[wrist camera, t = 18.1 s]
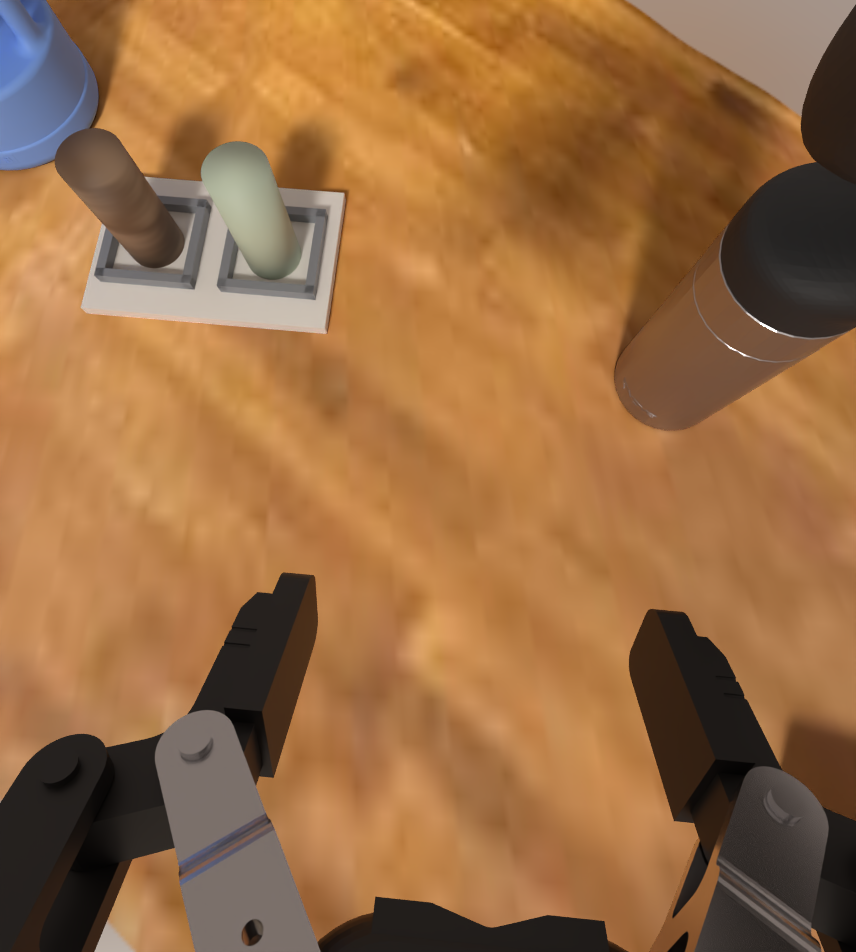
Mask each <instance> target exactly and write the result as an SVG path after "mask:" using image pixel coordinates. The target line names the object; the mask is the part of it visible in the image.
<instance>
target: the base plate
mask: <svg viewBox="0 0 856 952" xmlns="http://www.w3.org/2000/svg"><path fill="white" fill-rule="evenodd" d="M145 178H146V180H147V181H148V183H149V184H150V186H151V187H152V189H153V190H154V192H155V193H156V194H157V196H158V197H159V199H160V200H161V202H162V203H163V205H164V206H165V208H166V209H167V211H168V212H169V213H170V215H171V216H172V218H173V219H174V221H175V222H176V224H177V225H178V227H179V228H180V230H181V231H182V233H183V235H184V240H185V244H184V249H183V251H182V253H181V255H180V256H179V257H178V258H177V260H175V261H174V262H173V263H171V264H170V265H168V266H165V267H161V268H148V267H144V266H142V265H140V264H139V263H137V262H136V261H135V260H134V259H133V257H132V256H131V255H130V254H129V253H128V252H127V251H126V250H125V248H124V247H123V246H122V245H121V244H120V243H119V242H118V240H117V239H116V238H115V237H114V236H113V235H112V234H111V233H110V231H109V230H108V229H107V228H106V227H105V226H104V225H103V224H102V226H101V230H100V234H99V238H98V242H97V246H96V250H95V253H94V257H93V261H92V265H91V269H90V273H89V277H88V281H87V285H86V289H85V293H84V297H83V301H82V305H81V308H82V309H83V310H84V311H85V312H87V313H89V314H100V315H112V316H124V317H135V318H147V319H159V320H170V321H182V322H194V323H206V324H217V325H229V326H241V327H252V328H264V329H276V330H287V331H299V332H311V333H322V334H327V329H328V322H329V315H330V308H331V301H332V294H333V287H334V280H335V273H336V266H337V259H338V252H339V245H340V238H341V231H342V224H343V217H344V210H345V203H346V199H345V194H344V193H338V192H326V191H314V190H301V189H289V188H279V191H280V194H281V197H282V199H283V202H284V205H285V207H286V210H287V213H288V216H289V218H290V221H291V224H292V226H293V229H294V232H295V235H296V237H297V240H298V243H299V245H300V248H301V260H300V263H299V265H298V267H297V268H296V269H295V270H294V271H293V272H292V273H291V274H290V275H288V276H286V277H284V278H281V279H276V280H269V279H264V278H261V277H259V276H257V275H256V274H254V273H253V272H252V270H251V269H250V267H249V266H248V264H247V262H246V260H245V258H244V257H243V255H242V253H241V251H240V249H239V247H238V246H237V244H236V242H235V240H234V238H233V237H232V235H231V233H230V231H229V229H228V227H227V226H226V224H225V222H224V220H223V218H222V216H221V215H220V213H219V211H218V209H217V207H216V206H215V204H214V202H213V200H212V198H211V196H210V195H209V193H208V191H207V189H206V187H205V186H204V184H203V181H191V180H178V179H166V178H154V177H145Z"/></svg>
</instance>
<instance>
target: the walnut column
mask: <svg viewBox="0 0 856 952" xmlns="http://www.w3.org/2000/svg"><path fill="white" fill-rule="evenodd" d="M55 167H56V170H57V172H58V173H59V175H60V176H61V177H62V178H63V180H64V181H65V182H66V183H67V184H68V185H69V186H70V187H71V189H72V190H73V191H74V192H75V193H76V194H77V195H78V196H79V198H80V199H81V200H82V201H83V202H84V203H85V204H86V205H87V207H88V208H89V209H90V210H91V211H92V212H93V213H94V215H95V216H96V217H97V218H98V219H99V220H100V221H101V222H102V224H103V225H104V226H105V227H106V228H107V229H108V230H109V231H110V233H111V234H112V235H113V236H114V237H115V238H116V239H117V240H118V242H119V243H120V244H121V245H122V246H123V247H124V248H125V250H126V251H127V252H128V253H129V254H130V255H131V256H132V257H133V259H134V260H135V261H136V262H137V263H139V264H140V265H142V266H144V267H148V268H161V267H165V266H168V265H170V264H171V263H173V262H174V261H175V260H177V258H178V257H179V256H180V255H181V253H182V251H183V249H184V244H185V240H184V235H183V233H182V231H181V230H180V228H179V227H178V225H177V224H176V222H175V221H174V219H173V218H172V216H171V215H170V213H169V212H168V211H167V209H166V208H165V206H164V205H163V203H162V202H161V200H160V199H159V197H158V196H157V194H156V193H155V192H154V190H153V189H152V187H151V186H150V184H149V183H148V181H147V180H146V178H145V177H144V175H143V174H142V172H141V171H140V170H139V168H138V167H137V165H136V164H135V162H134V161H133V159H132V158H131V156H130V155H129V153H128V152H127V151H126V149H125V148H124V146H123V145H122V143H121V142H120V140H119V139H118V138H117V137H116V136H115V135H114V134H112V133H111V132H109V131H107V130H104V129H98V128H89V129H83V130H80V131H77V132H75V133H73V134H71V135H70V136H68V137H67V138H66V139H65V140H64V141H63V142H62V143H61V144H60V146H59V147H58V149H57V152H56V155H55Z"/></svg>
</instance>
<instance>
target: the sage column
mask: <svg viewBox="0 0 856 952" xmlns="http://www.w3.org/2000/svg"><path fill="white" fill-rule="evenodd" d="M201 178H202V181H203V184H204V186H205V187H206V189H207V191H208V193H209V195H210V196H211V198H212V200H213V202H214V204H215V206H216V207H217V209H218V211H219V213H220V215H221V216H222V218H223V220H224V222H225V224H226V226H227V227H228V229H229V231H230V233H231V235H232V237H233V238H234V240H235V242H236V244H237V246H238V247H239V249H240V251H241V253H242V255H243V257H244V258H245V260H246V262H247V264H248V266H249V267H250V269H251V270H252V272H253V273H254V274H256V275H257V276H259V277H261V278H264V279H269V280H276V279H281V278H284V277H286V276H288V275H290V274H291V273H292V272H293V271H294V270H295V269H296V268H297V267H298V265H299V263H300V260H301V248H300V245H299V243H298V240H297V237H296V235H295V232H294V229H293V226H292V224H291V221H290V218H289V216H288V213H287V210H286V207H285V205H284V202H283V199H282V197H281V194H280V191H279V188H278V186H277V183H276V180H275V178H274V175H273V172H272V170H271V167H270V164H269V161H268V159H267V157H266V155H265V154H264V152H263V151H262V150H261V149H259V148H258V147H257V146H255V145H253V144H250V143H247V142H238V141H236V142H229V143H225V144H222V145H220V146H218V147H216V148H215V149H214V150H212V151H211V152H210V153H209V154H208V155H207V157H206V158H205V160H204V162H203V164H202V167H201Z"/></svg>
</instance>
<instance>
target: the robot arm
mask: <svg viewBox="0 0 856 952" xmlns="http://www.w3.org/2000/svg"><path fill="white" fill-rule="evenodd" d="M801 132H802V138H803V143H804V145H805V147H806V149H807V150H808V152H809V154H810V155H811V156H812V158H813V159H814V160H815V161H816V162H815V163H809V164H804V165H801V166H797V167H794V168H791V169H789V170H787V171H785V172H782V173H780V174H778V175H777V176H775V177H773V178H772V179H770V180H769V181H768V182H766V183H765V184H764V185H763V186H761V187H760V188H759V189H758V190H757V191H756V192H755V193H754V194H753V195H752V196H751V197H750V198H749V200H748V201H747V202H746V203H745V204H744V206H743V207H742V208H741V209H740V210H739V212H738V213H737V214H736V215H735V216H734V218H733V219H732V220H731V221H730V223H729V224H728V225H727V226H726V227H725V229H724V230H723V231H722V232H721V233H720V235H719V236H718V237H717V238H716V240H715V241H714V242H713V243H712V244H711V246H710V247H709V248H708V249H707V251H706V252H705V253H704V254H703V256H702V257H701V258H700V259H699V260H698V262H697V263H696V264H695V265H694V266H693V268H692V269H691V270H690V271H689V272H688V274H687V275H686V276H685V277H684V279H683V280H682V281H681V282H680V283H679V285H678V286H677V287H676V288H675V289H674V291H673V292H672V293H671V294H670V295H669V297H668V298H667V299H666V300H665V301H664V303H663V304H662V305H661V306H660V308H659V309H658V310H657V311H656V312H655V314H654V315H653V316H652V317H651V318H650V320H649V321H648V322H647V323H646V324H645V326H644V327H643V328H642V329H641V330H640V331H639V333H638V334H637V335H636V336H635V337H634V339H633V340H632V341H631V342H630V343H629V345H628V346H627V347H626V348H625V349H624V351H623V352H622V354H621V356H620V357H619V359H618V361H617V365H616V368H615V379H614V380H615V386H616V391H617V393H618V396H619V398H620V400H621V402H622V403H623V405H624V406H625V408H626V409H627V410H628V411H629V412H630V413H631V414H632V415H633V416H634V417H635V418H636V419H638V420H639V421H641V422H642V423H644V424H646V425H648V426H651V427H653V428H657V429H661V430H681V429H686V428H689V427H691V426H694V425H696V424H698V423H699V422H701V421H703V420H704V419H706V418H708V417H709V416H711V415H713V414H714V413H716V412H717V411H719V410H721V409H723V408H724V407H726V406H728V405H729V404H731V403H733V402H734V401H736V400H737V399H739V398H741V397H742V396H744V395H746V394H747V393H749V392H751V391H752V390H754V389H755V388H757V387H759V386H760V385H762V384H764V383H765V382H767V381H769V380H770V379H772V378H774V377H775V376H777V375H778V374H780V373H782V372H783V371H785V370H787V369H788V368H790V367H792V366H793V365H795V364H796V363H798V362H800V361H801V360H803V359H805V358H806V357H808V356H810V355H811V354H813V353H814V352H816V351H818V350H819V349H820V348H822V347H824V346H825V345H827V344H829V343H830V342H832V341H834V340H835V339H837V338H839V337H840V336H842V335H843V334H845V333H847V332H848V331H850V330H852V329H853V328H855V327H856V5H855V6H854V8H853V9H852V11H851V12H850V14H849V15H848V17H847V18H846V19H845V21H844V22H843V24H842V25H841V27H840V28H839V30H838V31H837V33H836V34H835V36H834V38H833V39H832V41H831V43H830V44H829V46H828V48H827V49H826V51H825V53H824V55H823V56H822V59H821V60H820V63H819V65H818V67H817V69H816V71H815V73H814V75H813V77H812V80H811V82H810V85H809V88H808V91H807V94H806V98H805V101H804V104H803V109H802V118H801ZM317 626H318V613H317V598H316V583H315V577H314V575H305V574H295V573H282V574H281V576H280V578H279V580H278V582H277V585H276V587H275V589H274V591H273V594H270V593H260V592H257V593H256V594H255V595H254V596H253V597H252V598H251V599H250V600H249V601H248V602H247V603H246V604H245V605H243V606H242V607H241V609H240V611H239V613H238V615H237V617H236V619H235V621H234V623H233V625H232V629H231V630H230V631H229V633H228V636H227V638H226V640H225V642H224V646H222V648H221V650H220V652H219V654H218V656H217V658H216V660H215V662H214V664H213V666H212V669H211V671H210V673H209V675H208V677H207V679H206V681H205V683H204V685H203V687H202V689H201V691H200V693H199V695H198V697H197V699H196V701H195V703H194V705H193V707H192V709H191V710H190V711H189V713H188V714H187V715H185V716H184V717H182V718H180V719H178V720H177V721H176V722H174V723H173V724H172V725H171V726H170V727H169V728H168V729H167V730H166V731H165V732H164V733H162V734H160V735H157V736H155V737H152V738H148V739H144V740H139V741H135V742H130V743H125V744H120V745H116V746H111V747H105V745H104V743H103V742H102V741H101V740H100V739H98V738H97V737H95V736H92V735H88V734H75V735H70V736H66V737H63V738H61V739H58V740H56V741H54V742H52V743H50V744H49V745H47V746H45V747H44V748H43V749H41V750H40V751H39V752H37V753H36V754H35V755H34V756H33V757H32V758H31V759H30V760H29V761H28V762H27V763H26V765H25V766H24V767H23V769H22V770H21V772H20V773H19V775H18V776H17V778H16V779H15V781H14V782H13V784H12V786H11V787H10V789H9V790H8V792H7V793H6V795H5V796H4V798H3V800H2V801H1V803H0V952H94V951H95V949H96V946H97V944H98V941H99V939H100V937H101V934H102V932H103V929H104V927H105V924H106V922H107V920H108V917H109V915H110V912H111V910H112V907H113V905H114V903H115V900H116V898H117V895H118V893H119V890H120V888H121V886H122V883H123V881H124V878H125V876H126V873H127V871H128V869H129V866H130V864H131V861H132V859H134V858H138V857H142V856H146V855H149V854H153V853H157V852H161V851H164V850H168V849H172V848H175V850H176V854H177V859H178V864H179V881H180V886H181V891H182V896H183V900H184V905H185V909H186V913H187V918H188V922H189V927H190V931H191V935H192V940H193V944H194V949H195V952H628V951H626V950H624V949H623V948H621V947H619V946H618V945H616V944H614V943H612V942H610V941H608V940H607V934H606V928H605V922H604V921H597V920H588V919H579V918H569V917H560V916H550V915H547V916H542V917H538V918H534V919H530V920H525V921H521V922H517V923H512V924H508V925H504V926H500V927H494V928H490V927H485V926H483V925H480V924H478V923H476V922H474V921H471V920H469V919H467V918H465V917H462V916H460V915H458V914H456V913H453V912H451V911H449V910H447V909H444V908H442V907H440V906H438V905H435V904H433V903H429V902H419V901H410V900H400V899H391V898H382V897H375V905H374V913H370V914H366V915H362V916H359V917H357V918H354V919H352V920H349V921H347V922H345V923H343V924H342V925H340V926H338V927H336V928H335V929H333V930H332V931H330V932H329V933H328V934H327V935H325V936H324V937H323V938H321V939H320V940H319V941H318V942H317V941H316V938H315V935H314V933H313V930H312V927H311V925H310V922H309V919H308V917H307V914H306V911H305V909H304V906H303V903H302V901H301V898H300V895H299V892H298V890H297V887H296V884H295V882H294V879H293V876H292V874H291V871H290V868H289V866H288V863H287V860H286V858H285V855H284V852H283V850H282V847H281V844H280V842H279V839H278V837H277V834H276V831H275V829H274V827H273V824H272V822H271V820H270V819H268V817H267V815H266V812H265V810H264V807H263V804H262V802H261V799H260V796H259V794H258V791H257V788H256V784H257V781H258V778H259V776H262V777H272V778H274V775H275V772H276V768H277V765H278V762H279V758H280V755H281V752H282V749H283V745H284V742H285V739H286V735H287V732H288V729H289V726H290V722H291V719H292V716H293V713H294V709H295V706H296V703H297V699H298V696H299V693H300V690H301V686H302V683H303V680H304V676H305V673H306V670H307V667H308V663H309V660H310V657H311V653H312V650H313V647H314V643H315V639H316V634H317ZM629 671H630V676H631V680H632V683H633V687H634V690H635V693H636V697H637V700H638V703H639V706H640V710H641V713H642V716H643V720H644V723H645V726H646V730H647V733H648V736H649V740H650V743H651V746H652V749H653V753H654V756H655V759H656V763H657V766H658V769H659V773H660V776H661V779H662V783H663V786H664V789H665V792H666V796H667V799H668V802H669V806H670V809H671V812H672V816H673V819H674V821H679V822H689V823H694V824H695V827H696V830H697V833H698V836H699V838H698V839H697V840H696V842H695V844H694V847H693V849H692V852H691V854H690V857H689V860H688V862H687V865H686V867H685V870H684V873H683V875H682V878H681V881H680V883H679V886H678V888H677V891H676V894H675V896H674V899H673V901H672V904H671V907H670V909H669V912H668V915H667V917H666V920H665V922H664V924H663V927H662V929H661V931H660V933H659V934H658V936H657V938H656V940H655V941H654V943H653V945H652V947H651V949H650V951H649V952H821V947H820V944H819V942H818V941H817V940H816V939H815V938H813V937H812V936H811V928H813V929H815V930H816V931H817V934H818V936H819V939H820V941H821V944H822V946H823V949H824V951H825V952H856V821H854V820H852V819H849V818H847V817H844V816H842V815H839V814H837V813H835V812H832V811H830V810H828V809H826V808H824V807H822V806H821V804H820V803H819V801H818V800H817V798H816V797H815V796H814V795H813V793H812V792H811V791H810V790H809V789H808V788H807V787H806V786H805V785H803V784H802V783H801V782H800V781H799V780H797V779H796V778H794V777H793V776H791V775H789V774H788V773H786V772H784V771H783V770H782V769H781V767H780V765H779V763H778V761H777V759H776V757H775V755H774V753H773V751H772V749H771V747H770V745H769V743H768V741H767V739H766V737H765V735H764V733H763V731H762V729H761V727H760V725H759V723H758V721H757V719H756V717H755V715H754V713H753V711H752V709H751V707H750V705H749V703H748V701H747V700H746V699H744V693H743V691H742V689H741V687H740V685H739V683H738V682H736V677H735V675H734V673H733V671H732V669H731V667H730V665H729V663H728V661H727V659H726V657H725V656H724V655H723V654H722V652H721V651H720V650H719V649H718V648H717V647H716V646H715V645H714V644H713V643H712V642H711V641H710V640H709V639H708V638H707V637H700V636H697V635H696V633H695V631H694V628H693V626H692V624H691V622H690V620H689V618H688V616H687V615H686V614H685V613H684V612H677V611H666V610H656V609H650V610H648V612H647V613H646V615H645V618H644V620H643V622H642V625H641V627H640V629H639V632H638V634H637V636H636V639H635V641H634V644H633V646H632V648H631V651H630V656H629Z"/></svg>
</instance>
